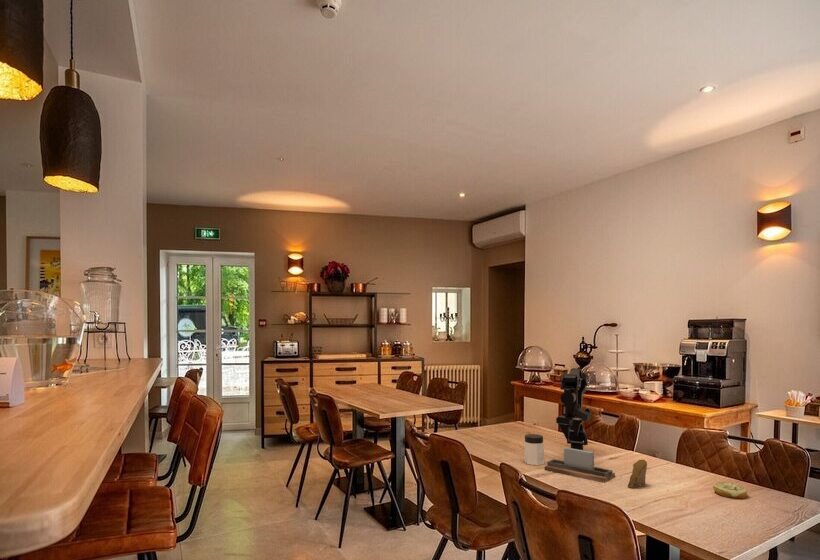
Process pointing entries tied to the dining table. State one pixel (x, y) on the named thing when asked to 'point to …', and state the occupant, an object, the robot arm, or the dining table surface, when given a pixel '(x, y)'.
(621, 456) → the dining table surface
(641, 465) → the rock
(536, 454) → the jar
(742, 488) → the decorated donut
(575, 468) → the track board
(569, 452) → the door panel
